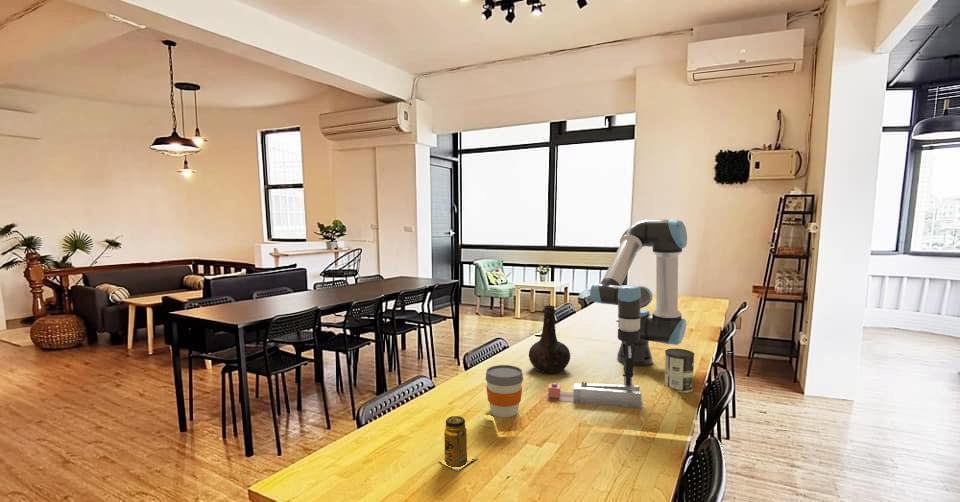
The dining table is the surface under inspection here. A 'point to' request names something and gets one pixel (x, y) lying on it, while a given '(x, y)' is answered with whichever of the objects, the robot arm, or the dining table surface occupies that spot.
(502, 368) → the reusable coffee cup
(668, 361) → the coffee can
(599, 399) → the grey long bar
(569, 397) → the board
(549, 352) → the dark brown vase
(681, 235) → the robot arm
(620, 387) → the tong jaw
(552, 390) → the tab
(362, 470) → the dining table surface
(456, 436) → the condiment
